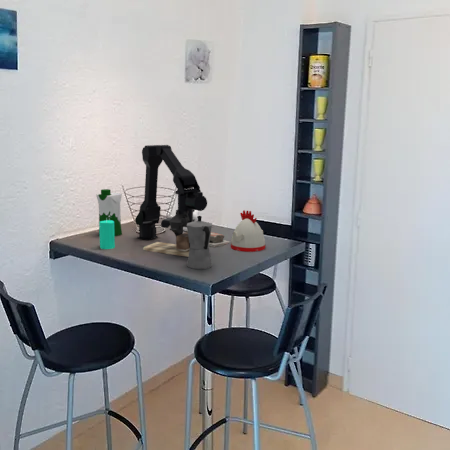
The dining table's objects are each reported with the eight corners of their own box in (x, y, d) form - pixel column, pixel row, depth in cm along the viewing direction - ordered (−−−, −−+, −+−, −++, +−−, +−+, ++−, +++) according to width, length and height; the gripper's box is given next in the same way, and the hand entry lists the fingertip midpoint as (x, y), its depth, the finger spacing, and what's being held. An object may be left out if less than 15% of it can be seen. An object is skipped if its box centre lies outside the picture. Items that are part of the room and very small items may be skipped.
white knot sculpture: (180, 233, 247) (180, 213, 245) (172, 227, 258) (172, 208, 256) (204, 231, 251) (204, 212, 249) (196, 226, 262) (196, 207, 260)
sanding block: (176, 250, 212) (176, 236, 211) (185, 246, 218) (185, 232, 217) (185, 251, 210) (185, 237, 209) (194, 247, 217) (194, 233, 215)
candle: (102, 249, 217) (101, 219, 214) (97, 246, 222) (96, 216, 219) (117, 248, 219) (116, 218, 217) (112, 244, 225) (111, 215, 222)
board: (143, 250, 217) (143, 247, 217) (157, 244, 226) (157, 241, 226) (188, 256, 209) (188, 253, 208) (200, 250, 217) (200, 247, 217)
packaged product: (181, 230, 233) (198, 226, 241) (181, 241, 234) (198, 237, 242) (214, 236, 222) (230, 232, 229) (214, 248, 223) (230, 244, 230)
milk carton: (95, 235, 240) (94, 189, 236) (110, 231, 248) (109, 187, 243) (110, 238, 236) (109, 191, 231) (125, 234, 243) (124, 189, 239)
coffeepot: (180, 262, 202) (180, 213, 198) (205, 259, 205) (205, 211, 201) (195, 273, 188) (195, 221, 184) (220, 271, 191) (221, 219, 187)
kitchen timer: (247, 241, 233) (248, 206, 230) (272, 247, 224) (273, 211, 221) (223, 247, 224) (224, 210, 221) (248, 253, 214) (249, 215, 211)
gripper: (152, 208, 208) (153, 248, 211) (196, 212, 200) (196, 254, 203) (168, 203, 218) (168, 242, 221) (211, 207, 210) (210, 247, 213)
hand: (185, 246), depth 214 cm, fingers closed on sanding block, 4 cm apart
